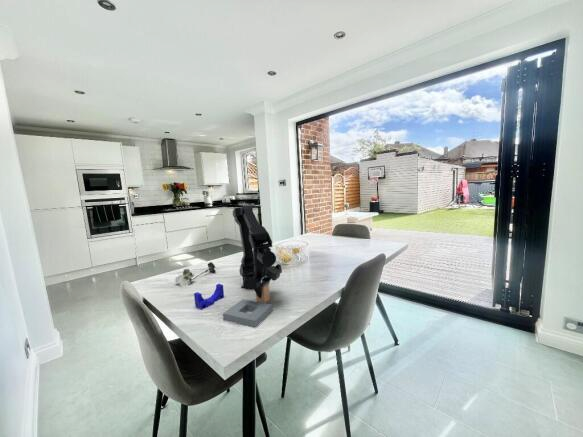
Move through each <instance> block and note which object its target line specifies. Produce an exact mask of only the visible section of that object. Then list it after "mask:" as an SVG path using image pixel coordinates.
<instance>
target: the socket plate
mask: <svg viewBox="0 0 583 437" xmlns="http://www.w3.org/2000/svg"><path fill="white" fill-rule="evenodd" d="M273 308H274V307H273V304H271V303H267V302H266V303H261V302H257V300H256V301H255V300H250V299H244V298H243V299H241V300H239V301H237V303H235V304H234V305H232V306H231V307H230V308H229V309H227V310H226V311H224V312H223V313H222V317H223V321H226V320H227V322H230V321H232V322H231V323H234V322H236V324H239V323H240V324H239V325H243V324H244V325H243V326H247V325H248V326H247V327H251V326H253V327H252V328H255V327H256V326H257V325H258V324H259V323H260V322H261V321H262V322H263V321H264V320H265V319H266V318H267V317H268V316H270V314H271V313H273ZM247 310H248V311H247ZM252 311H253V312H252ZM244 312H245V313H244ZM248 312H251V313H248ZM262 322H261V323H262ZM261 323H260V324H261ZM260 324H259V325H260ZM259 325H258V326H259ZM258 326H257V327H258ZM257 327H256V328H257Z"/></svg>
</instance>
